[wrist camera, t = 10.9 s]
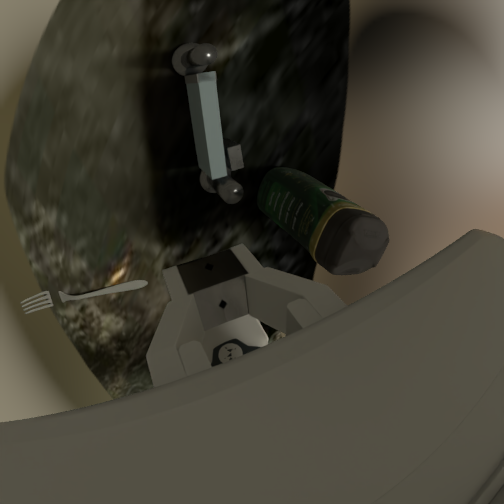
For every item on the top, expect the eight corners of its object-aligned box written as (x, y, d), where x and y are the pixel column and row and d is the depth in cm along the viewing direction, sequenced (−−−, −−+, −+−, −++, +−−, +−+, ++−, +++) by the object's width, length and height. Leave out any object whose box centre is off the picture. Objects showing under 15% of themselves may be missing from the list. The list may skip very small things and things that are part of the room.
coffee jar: (248, 210, 43) (324, 285, 29) (264, 160, 39) (356, 217, 25) (298, 217, 48) (375, 282, 34) (314, 173, 44) (403, 227, 31)
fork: (165, 286, 44) (167, 293, 42) (27, 308, 33) (25, 316, 32) (163, 270, 42) (166, 276, 41) (20, 293, 32) (18, 300, 30)
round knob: (210, 72, 29) (229, 69, 24) (175, 80, 28) (188, 78, 23) (204, 40, 26) (223, 31, 22) (168, 47, 25) (179, 38, 20)
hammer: (236, 184, 39) (257, 202, 34) (203, 196, 38) (219, 216, 33) (227, 138, 35) (248, 149, 30) (191, 149, 34) (206, 162, 29)
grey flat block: (184, 76, 28) (196, 73, 24) (200, 73, 28) (215, 71, 24) (198, 166, 35) (211, 179, 31) (212, 163, 36) (228, 175, 31)
